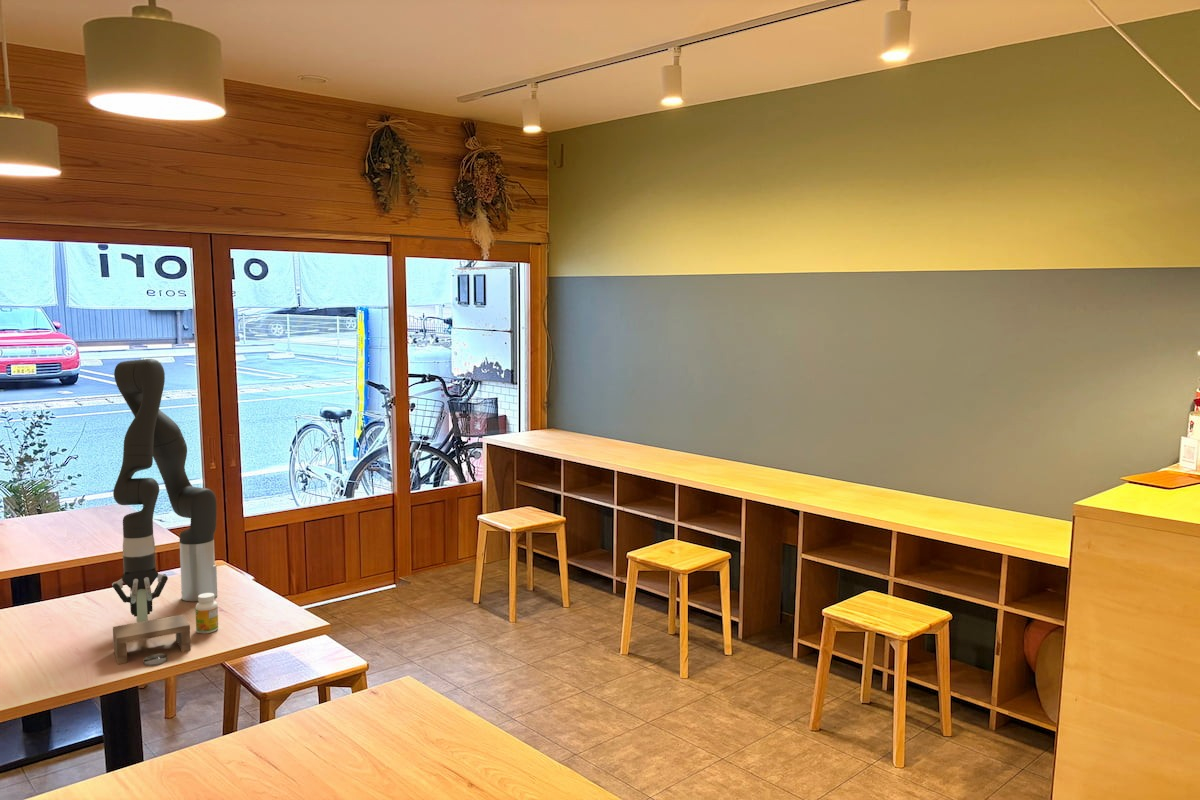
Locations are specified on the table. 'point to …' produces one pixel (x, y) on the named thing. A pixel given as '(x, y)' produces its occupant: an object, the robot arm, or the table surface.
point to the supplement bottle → (206, 613)
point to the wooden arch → (150, 633)
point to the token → (155, 659)
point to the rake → (141, 606)
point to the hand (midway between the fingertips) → (141, 614)
